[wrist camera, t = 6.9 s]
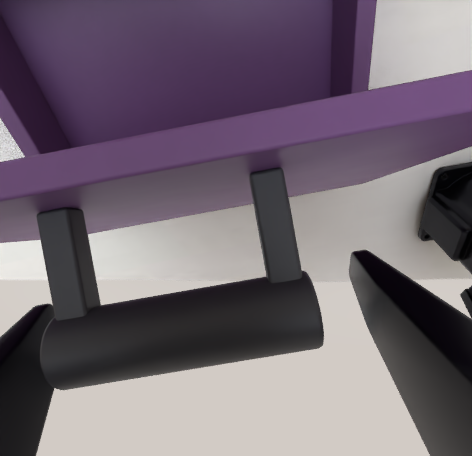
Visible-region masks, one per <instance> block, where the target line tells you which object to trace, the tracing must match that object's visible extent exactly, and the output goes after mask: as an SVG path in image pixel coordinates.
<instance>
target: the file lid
mask: <svg viewBox="0 0 472 456" xmlns="http://www.w3.org/2000/svg"><path fill="white" fill-rule="evenodd" d="M471 146H472V70H470V71H465V72H459V73H454V74H449V75H444V76H439V77H434V78H429V79H424V80H419V81H413V82H408V83H403V84H398V85H393V86H388V87H383V88H378V89H372V90H367V91H362V92H357V93H352V94H347V95H342V96H337V97H331V98H326V99H321V100H316V101H311V102H306V103H301V104H296V105H290V106H285V107H280V108H275V109H270V110H265V111H260V112H255V113H250V114H244V115H239V116H234V117H229V118H224V119H219V120H214V121H209V122H203V123H198V124H193V125H188V126H183V127H178V128H173V129H168V130H162V131H157V132H152V133H147V134H142V135H137V136H132V137H127V138H122V139H116V140H111V141H106V142H101V143H96V144H91V145H86V146H81V147H75V148H70V149H65V150H60V151H55V152H50V153H45V154H40V155H34V156H29V157H24V158H19V159H14V160H9V161H4V162H0V243H4V242H17V241H29V240H41V244H42V249H43V255H44V260H45V265H46V271H47V276H48V281H49V287H50V291H51V297H52V303H53V308H54V313H55V317H54V318H53V319H52V320H51V321H50V323H49V324H48V326H47V327H46V329H45V332H44V334H43V337H42V341H41V347H40V363H41V368H42V372H43V375H44V377H45V379H46V380H47V382H48V383H49V384H50V385H51V386H52V387H54V388H56V389H60V390H67V389H73V388H79V387H85V386H92V385H98V384H104V383H110V382H116V381H122V380H128V379H134V378H141V377H147V376H153V375H159V374H165V373H171V372H177V371H182V370H189V369H195V368H201V367H208V366H214V365H220V364H225V363H232V362H238V361H244V360H249V359H256V358H262V357H269V356H274V355H280V354H286V353H293V352H299V351H305V350H311V349H317V348H320V347H321V346H322V345H323V340H324V331H323V323H322V317H321V312H320V307H319V303H318V299H317V296H316V292H315V289H314V286H313V284H312V281H311V279H310V277H309V275H308V274H307V273H306V272H305V271H302V270H301V265H300V259H299V254H298V248H297V242H296V237H295V231H294V226H293V220H292V215H291V209H290V203H289V198H288V197H292V196H297V195H303V194H308V193H314V192H319V191H325V190H330V189H335V188H341V187H346V186H352V185H357V184H363V183H366V182H369V181H372V180H374V179H377V178H380V177H383V176H386V175H389V174H392V173H395V172H398V171H401V170H404V169H406V168H409V167H412V166H415V165H418V164H421V163H424V162H427V161H430V160H433V159H436V158H439V157H441V156H444V155H447V154H450V153H453V152H456V151H459V150H462V149H465V148H468V147H471ZM248 204H254V209H255V215H256V220H257V226H258V231H259V237H260V242H261V248H262V254H263V259H264V265H265V270H266V276H267V277H262V278H256V279H250V280H244V281H239V282H233V283H227V284H222V285H216V286H210V287H204V288H199V289H193V290H187V291H182V292H176V293H170V294H164V295H158V296H153V297H147V298H141V299H136V300H130V301H124V302H118V303H113V304H107V305H101V304H100V299H99V293H98V288H97V283H96V277H95V272H94V266H93V261H92V256H91V250H90V245H89V240H88V234H91V233H96V232H101V231H107V230H112V229H118V228H123V227H129V226H134V225H140V224H145V223H150V222H156V221H161V220H167V219H172V218H178V217H183V216H189V215H194V214H199V213H205V212H210V211H216V210H221V209H227V208H232V207H238V206H243V205H248Z"/></svg>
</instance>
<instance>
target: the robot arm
mask: <svg viewBox="0 0 472 456" xmlns="http://www.w3.org/2000/svg"><path fill="white" fill-rule="evenodd" d="M443 174H444V175H443ZM442 175H443V176H442ZM441 176H442V177H441ZM418 237H419V238H420V239H421V240H422V241H429V240H434V241H435V242H436V243H437V244H438V245H439V246H440V247H441V248H442V249H443V250H444V251H445V253H446V254H447V255H448V256H449V257H450V258H451V259H452V260H454V261H460V262H461V263H462V264H463V265H464V266H465V267H466V268H467V270H468V271H469V272H470V273H471V274H472V162H471V163H466V164H460V165H455V166H449V167H444V168H440V169H439V170H437V171H436V172H435V174H434V177H433V181H432V185H431V188H430V192H429V196H428V199H427V202H426V206H425V210H424V213H423V217H422V221H421V226H420V229H419V233H418ZM349 275H350V279H351V282H352V285H353V288H354V291H355V293H356V296H357V299H358V302H359V305H360V308H361V310H362V313H363V316H364V319H365V322H366V324H367V327H368V329H369V331H370V333H371V335H372V337H373V340H374V342H375V344H376V346H377V348H378V350H379V352H380V354H381V356H382V358H383V360H384V362H385V364H386V366H387V368H388V370H389V372H390V374H391V376H392V378H393V380H394V382H395V385H396V387H397V389H398V391H399V393H400V395H401V397H402V399H403V401H404V403H405V405H406V407H407V409H408V411H409V413H410V415H411V417H412V419H413V421H414V423H415V425H416V427H417V429H418V432H419V433H420V436H421V438H422V440H423V442H424V444H425V446H426V448H427V450H428V452H429V454H430V456H472V319H470V318H469V317H467V316H466V315H464V314H463V313H461V312H460V311H458V310H457V309H455V308H454V307H452V306H451V305H449V304H448V303H446V302H445V301H443V300H442V299H440V298H439V297H437V296H435V295H434V294H433V293H431V292H430V291H428V290H427V289H425V288H424V287H422V286H421V285H419V284H418V283H416V282H415V281H413V280H412V279H410V278H409V277H407V276H406V275H404V274H403V273H401V272H400V271H398V270H396V269H395V268H393V267H392V266H390V265H389V264H387V263H386V262H384V261H383V260H381V259H380V258H378V257H377V256H375V255H374V254H372V253H371V252H369V251H367V250H360V251H354V252H352V253H351V257H350V267H349ZM461 298H462V300H463V301H464V304H465V305H466V308H467V309H468V312H469V314H470V316H471V318H472V286H471V287H470V288H469V289H465V290H464V291H463V292H462V293H461ZM54 317H55V313H54V308H53V305H51V304H42V305H37V306H35V307H33V308H32V309H31V310H30V311H29V312H28V313H27V314H25V315H24V316H23V317H22V318H21V319H20V320H19V321H18V322H17V323H15V324H14V325H13V326H12V327H11V328H10V329H9V330H8V331H7V332H6V333H5V334H3V335H2V336H1V337H0V456H36V453H37V450H38V446H39V442H40V439H41V435H42V431H43V428H44V423H45V420H46V416H47V413H48V409H49V406H50V402H51V398H52V394H53V391H54V387H52V386H51V385H50V384H49V383H48V382H47V380H46V379H45V377H44V375H43V372H42V368H41V363H40V347H41V341H42V337H43V334H44V332H45V329H46V327H47V326H48V324H49V323H50V321H51V320H52V319H53V318H54Z"/></svg>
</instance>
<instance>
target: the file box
mask: <svg viewBox="0 0 472 456" xmlns="http://www.w3.org/2000/svg"><path fill="white" fill-rule="evenodd" d="M376 2H377V0H0V118H1V120H2V121H3V123H4V124H5V126H6V127H7V129H8V131H9V132H10V134H11V135H12V137H13V138H14V140H15V141H16V143H17V145H18V146H19V148H20V149H21V151H22V152H23V154H24V155H25V157H29V156H34V155H40V154H45V153H50V152H55V151H60V150H65V149H70V148H75V147H81V146H86V145H91V144H96V143H101V142H106V141H111V140H116V139H122V138H127V137H132V136H137V135H142V134H147V133H152V132H157V131H162V130H168V129H173V128H178V127H183V126H188V125H193V124H198V123H203V122H209V121H214V120H219V119H224V118H229V117H234V116H239V115H244V114H250V113H255V112H260V111H265V110H270V109H275V108H280V107H285V106H290V105H296V104H301V103H306V102H311V101H316V100H321V99H326V98H331V97H337V96H342V95H347V94H352V93H357V92H362V91H367V90H368V84H369V74H370V64H371V53H372V43H373V33H374V23H375V12H376Z"/></svg>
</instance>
